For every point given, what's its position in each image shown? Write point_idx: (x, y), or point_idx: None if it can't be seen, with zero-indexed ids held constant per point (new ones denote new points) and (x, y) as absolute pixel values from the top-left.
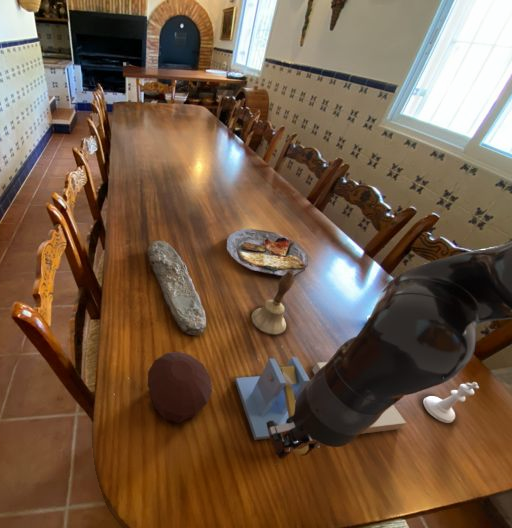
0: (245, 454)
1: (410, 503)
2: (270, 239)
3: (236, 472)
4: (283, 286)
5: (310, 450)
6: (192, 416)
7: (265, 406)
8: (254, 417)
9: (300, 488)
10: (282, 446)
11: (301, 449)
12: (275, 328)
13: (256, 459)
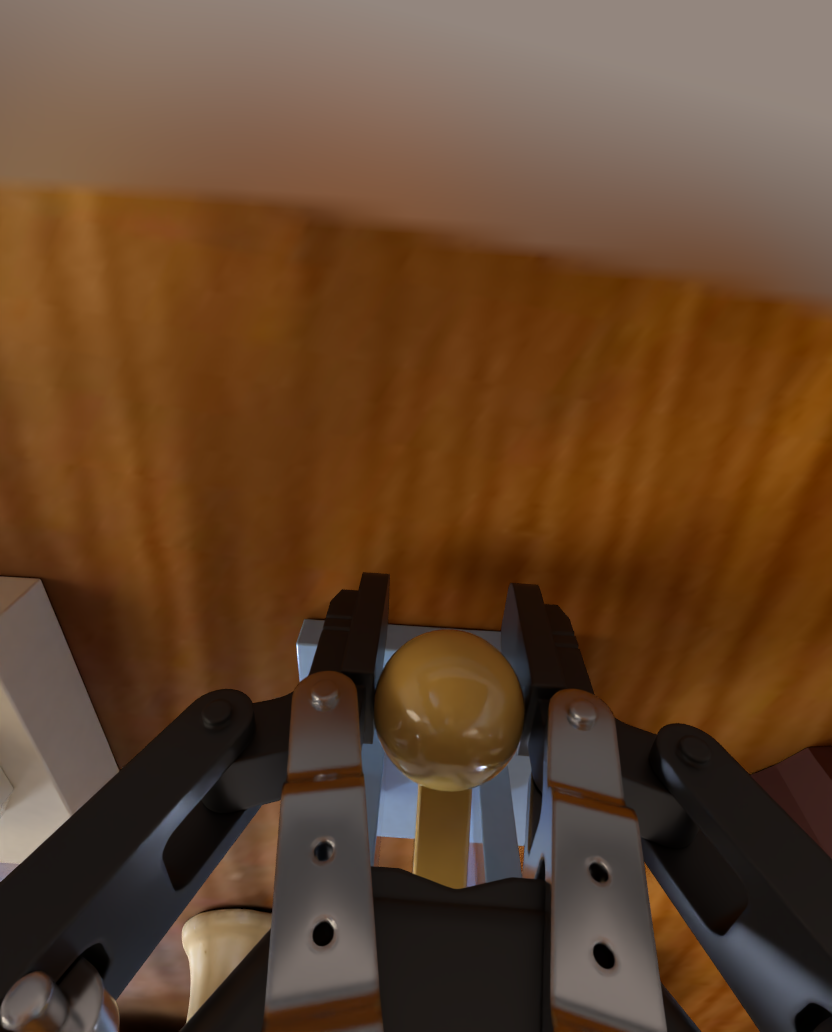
0: (660, 594)
1: None
2: None
3: (765, 537)
4: None
5: (359, 636)
6: (822, 759)
7: (516, 837)
8: None
9: (450, 411)
10: (741, 848)
11: (475, 708)
12: (241, 943)
13: (617, 567)
